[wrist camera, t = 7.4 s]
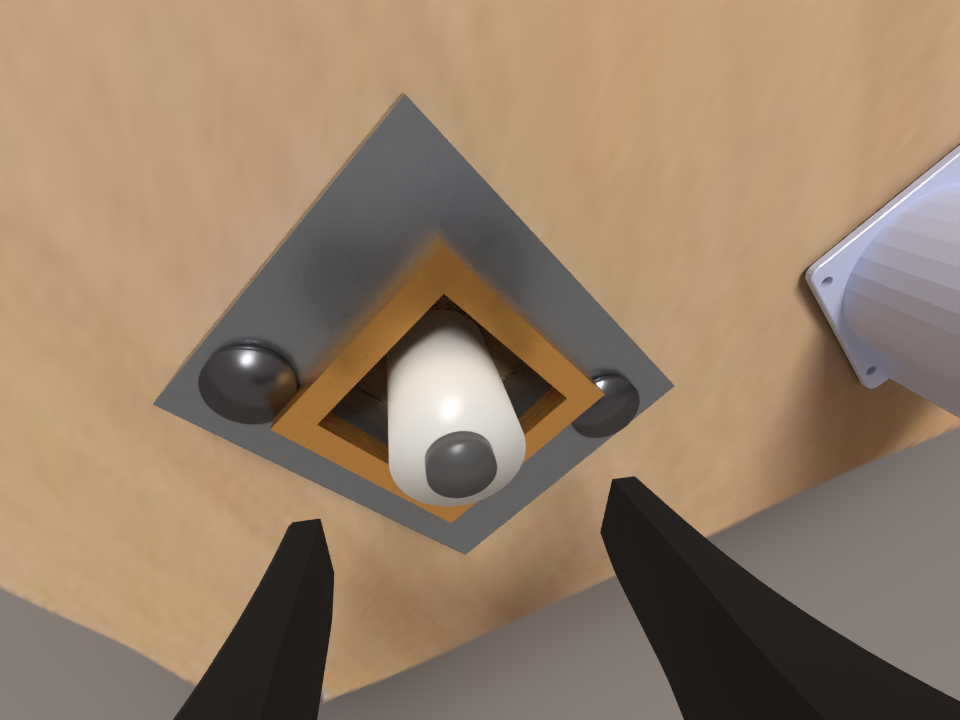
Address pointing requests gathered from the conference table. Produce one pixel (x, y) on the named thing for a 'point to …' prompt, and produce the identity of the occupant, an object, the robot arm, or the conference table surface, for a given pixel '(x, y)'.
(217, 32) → the conference table surface
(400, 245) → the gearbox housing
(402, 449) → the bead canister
